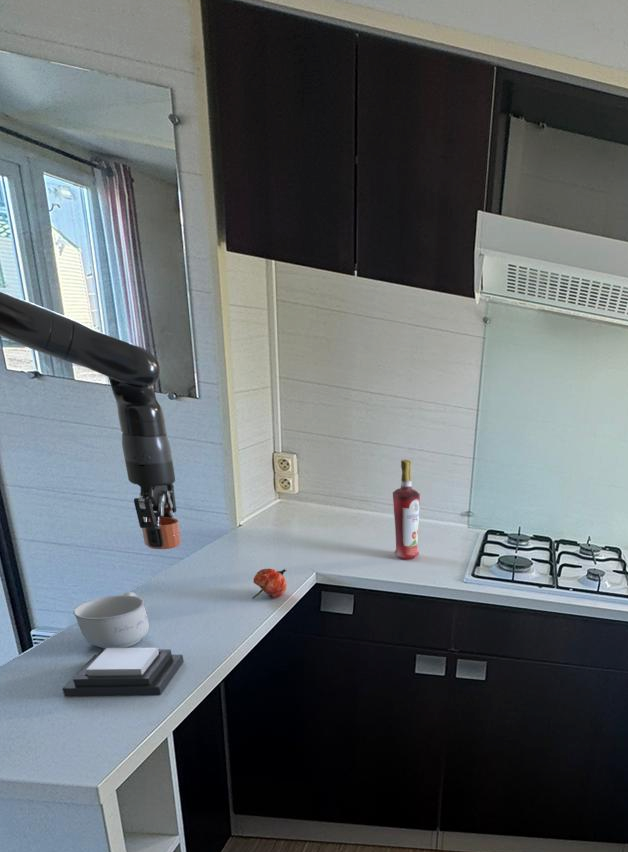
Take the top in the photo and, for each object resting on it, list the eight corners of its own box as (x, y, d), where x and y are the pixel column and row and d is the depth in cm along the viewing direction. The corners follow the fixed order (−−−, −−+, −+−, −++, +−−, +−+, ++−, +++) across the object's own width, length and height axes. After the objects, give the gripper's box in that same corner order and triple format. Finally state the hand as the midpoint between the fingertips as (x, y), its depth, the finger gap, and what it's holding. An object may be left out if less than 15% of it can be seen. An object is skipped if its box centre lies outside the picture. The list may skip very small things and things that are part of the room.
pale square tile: (87, 677, 106) (85, 669, 105) (108, 655, 113) (106, 647, 112) (142, 676, 108) (140, 669, 107) (159, 655, 115) (157, 647, 114)
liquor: (407, 551, 189) (406, 457, 176) (424, 557, 186) (425, 462, 174) (388, 556, 183) (386, 459, 171) (406, 563, 180) (405, 464, 168)
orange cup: (140, 549, 124) (135, 524, 122) (151, 539, 129) (147, 515, 127) (176, 550, 126) (172, 526, 123) (185, 541, 131) (182, 517, 129)
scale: (64, 696, 104) (60, 681, 103) (96, 662, 115) (93, 647, 113) (160, 695, 108) (157, 680, 107) (183, 661, 118) (181, 647, 117)
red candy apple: (264, 613, 145) (299, 586, 147) (239, 590, 141) (275, 562, 143) (263, 604, 151) (296, 577, 153) (238, 582, 147) (273, 555, 149)
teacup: (126, 658, 117) (117, 619, 114) (67, 651, 117) (57, 612, 113) (174, 627, 130) (167, 592, 126) (121, 621, 129) (112, 585, 126)
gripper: (140, 448, 125) (154, 529, 132) (109, 463, 113) (127, 551, 120) (183, 452, 127) (194, 531, 134) (157, 467, 115) (172, 553, 122)
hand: (162, 540), depth 127 cm, fingers closed on orange cup, 6 cm apart
